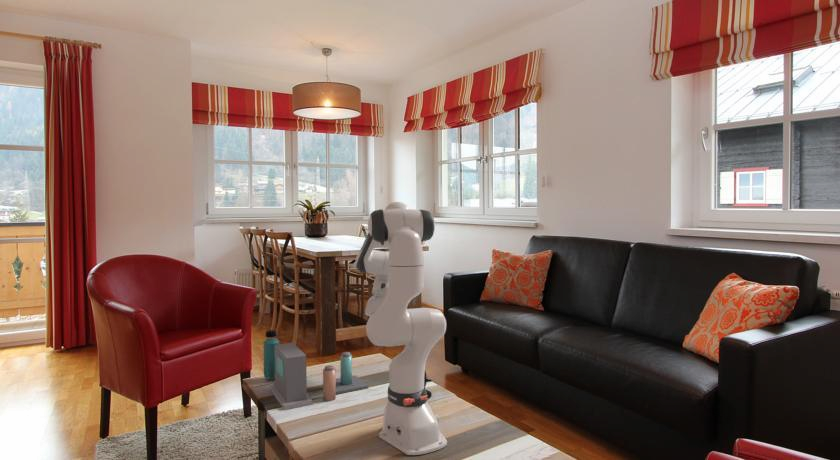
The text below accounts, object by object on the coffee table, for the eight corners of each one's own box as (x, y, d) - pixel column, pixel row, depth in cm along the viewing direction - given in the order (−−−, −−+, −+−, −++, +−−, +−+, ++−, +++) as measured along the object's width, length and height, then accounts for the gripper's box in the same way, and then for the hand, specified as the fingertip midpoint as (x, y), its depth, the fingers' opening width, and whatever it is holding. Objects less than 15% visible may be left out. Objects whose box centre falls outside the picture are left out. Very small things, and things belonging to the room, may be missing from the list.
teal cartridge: (353, 384, 194) (353, 354, 193) (342, 386, 192) (342, 355, 191) (349, 380, 198) (349, 350, 197) (338, 382, 196) (338, 352, 195)
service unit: (312, 404, 177) (312, 356, 176) (284, 410, 172) (283, 360, 171) (295, 384, 196) (295, 340, 195) (269, 388, 191) (269, 344, 190)
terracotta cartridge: (337, 399, 181) (337, 367, 181) (325, 402, 179) (325, 369, 178) (333, 395, 185) (333, 363, 185) (321, 397, 183) (321, 365, 182)
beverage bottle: (277, 382, 198) (277, 333, 197) (261, 382, 198) (260, 332, 197) (282, 376, 205) (281, 328, 203) (266, 376, 205) (265, 328, 204)
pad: (368, 388, 193) (368, 385, 192) (336, 394, 186) (336, 391, 186) (355, 377, 204) (355, 375, 204) (325, 383, 197) (325, 380, 197)
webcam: (414, 391, 190) (414, 365, 189) (433, 393, 188) (433, 367, 188) (409, 399, 182) (409, 372, 182) (429, 401, 181) (429, 374, 180)
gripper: (364, 293, 209) (358, 325, 203) (388, 282, 194) (382, 316, 187) (377, 297, 212) (372, 329, 206) (402, 287, 196) (397, 320, 190)
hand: (377, 323), depth 197 cm, fingers open, 8 cm apart
